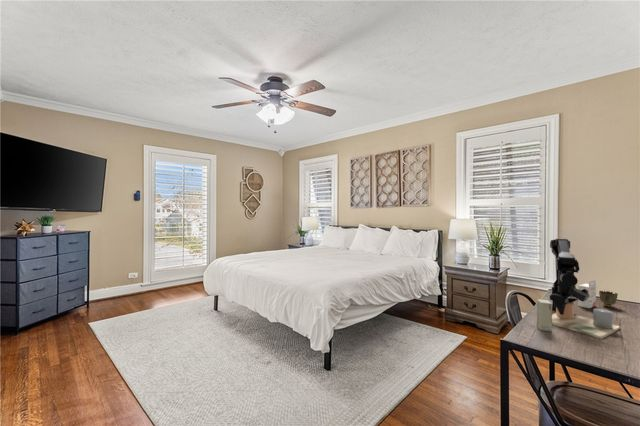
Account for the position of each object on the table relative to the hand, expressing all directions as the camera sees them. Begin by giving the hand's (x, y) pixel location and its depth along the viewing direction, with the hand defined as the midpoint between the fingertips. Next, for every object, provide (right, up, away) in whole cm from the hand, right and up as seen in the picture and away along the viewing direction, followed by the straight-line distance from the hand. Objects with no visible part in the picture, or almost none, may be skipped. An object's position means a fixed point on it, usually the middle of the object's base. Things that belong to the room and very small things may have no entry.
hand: (564, 313), depth 144 cm
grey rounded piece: (+7, -2, -12) cm, 14 cm away
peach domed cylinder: (0, -1, 0) cm, 1 cm away
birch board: (0, -3, -8) cm, 8 cm away
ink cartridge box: (+28, -3, +19) cm, 34 cm away
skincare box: (-20, -2, -13) cm, 24 cm away
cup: (+40, -3, +19) cm, 44 cm away
